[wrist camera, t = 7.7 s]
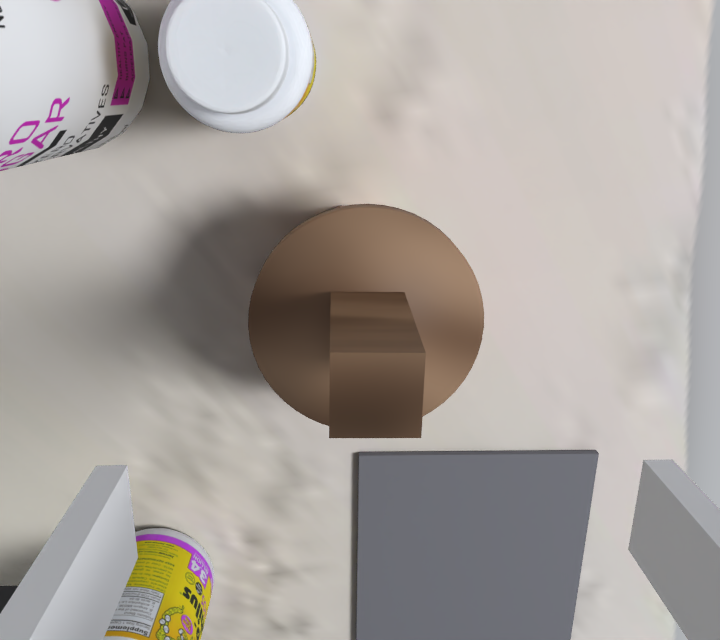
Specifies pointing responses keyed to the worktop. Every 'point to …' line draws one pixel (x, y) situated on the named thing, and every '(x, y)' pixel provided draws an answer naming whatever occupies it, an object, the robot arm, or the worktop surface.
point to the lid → (366, 320)
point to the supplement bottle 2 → (237, 61)
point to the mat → (471, 543)
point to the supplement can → (67, 76)
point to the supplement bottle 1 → (164, 589)
